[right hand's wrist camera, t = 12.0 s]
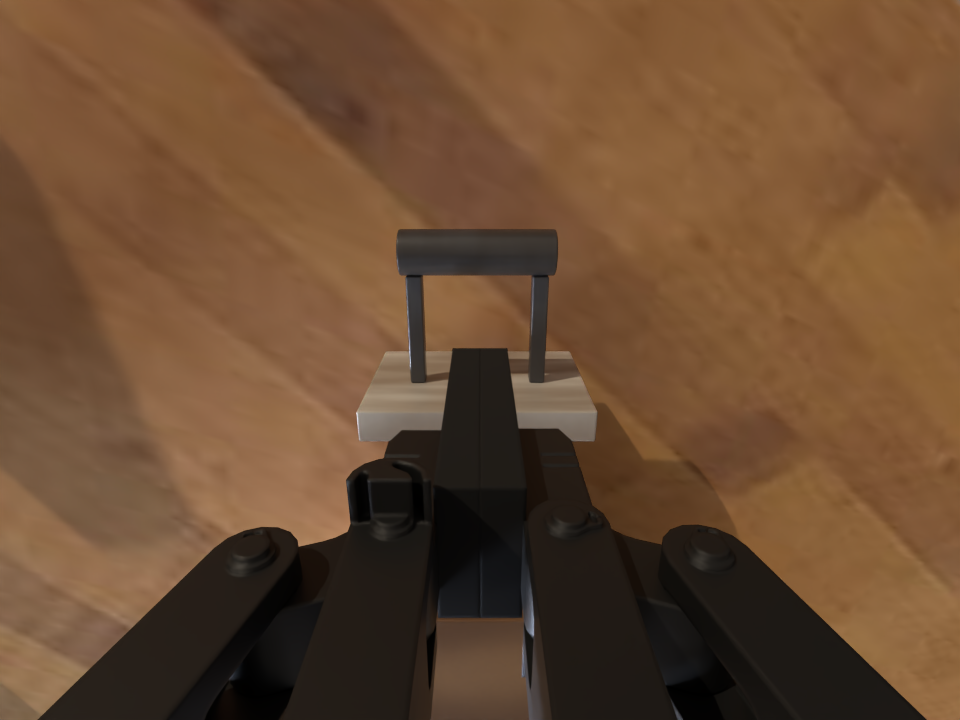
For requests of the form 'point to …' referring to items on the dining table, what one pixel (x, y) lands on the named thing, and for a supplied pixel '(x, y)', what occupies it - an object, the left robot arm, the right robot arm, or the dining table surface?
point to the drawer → (424, 374)
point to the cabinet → (479, 670)
